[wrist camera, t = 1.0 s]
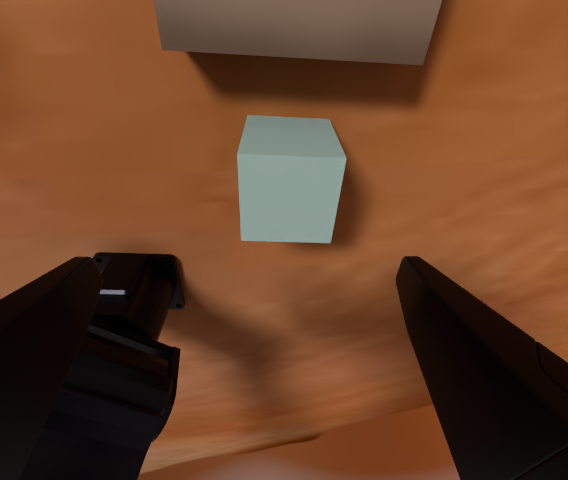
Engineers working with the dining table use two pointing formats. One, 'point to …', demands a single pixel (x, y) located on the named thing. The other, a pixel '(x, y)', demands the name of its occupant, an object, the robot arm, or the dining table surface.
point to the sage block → (289, 179)
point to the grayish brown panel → (301, 28)
